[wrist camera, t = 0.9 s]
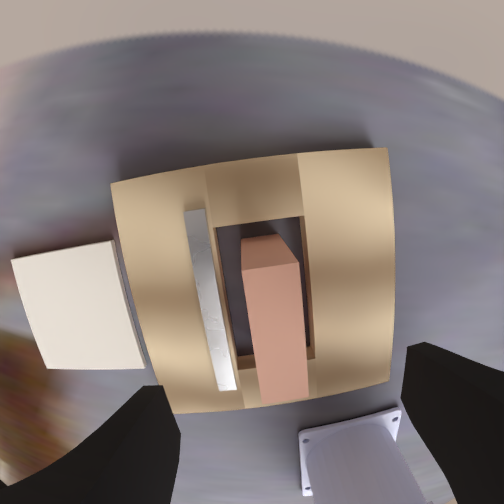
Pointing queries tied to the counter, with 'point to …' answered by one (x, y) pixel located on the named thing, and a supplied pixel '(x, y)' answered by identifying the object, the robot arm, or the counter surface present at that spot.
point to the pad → (79, 308)
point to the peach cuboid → (275, 317)
